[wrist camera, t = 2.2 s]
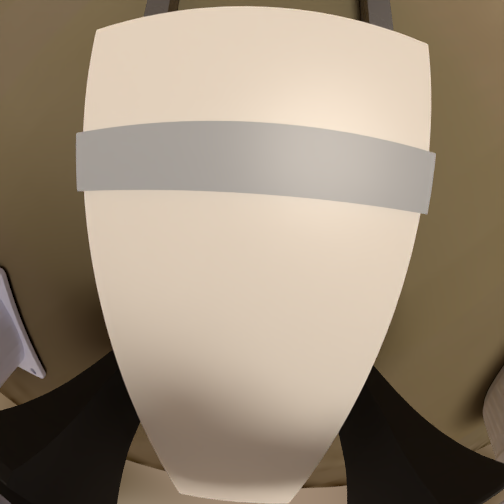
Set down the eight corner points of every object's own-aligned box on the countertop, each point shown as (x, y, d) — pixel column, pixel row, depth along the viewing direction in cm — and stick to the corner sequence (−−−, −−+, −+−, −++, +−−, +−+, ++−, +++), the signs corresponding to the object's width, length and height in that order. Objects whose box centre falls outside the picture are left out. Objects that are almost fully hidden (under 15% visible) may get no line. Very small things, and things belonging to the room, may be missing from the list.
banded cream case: (197, 410, 12) (177, 494, 7) (186, 88, 7) (90, 29, 2) (287, 417, 12) (290, 505, 7) (341, 97, 7) (434, 43, 2)
